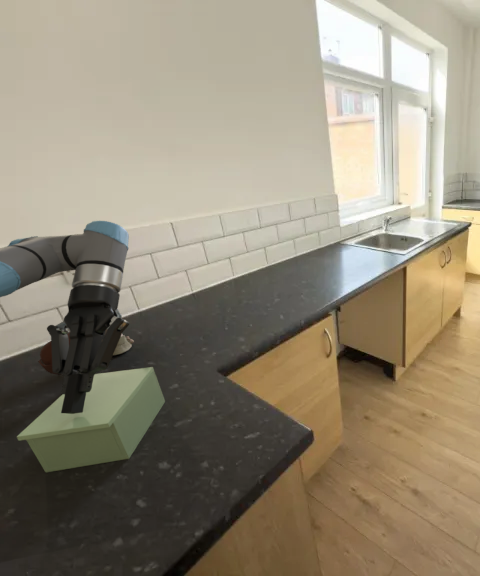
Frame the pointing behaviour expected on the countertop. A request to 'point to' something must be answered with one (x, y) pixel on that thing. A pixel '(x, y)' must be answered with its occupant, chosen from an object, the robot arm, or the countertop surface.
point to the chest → (103, 435)
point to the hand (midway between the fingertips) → (72, 412)
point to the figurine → (122, 340)
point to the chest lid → (90, 405)
